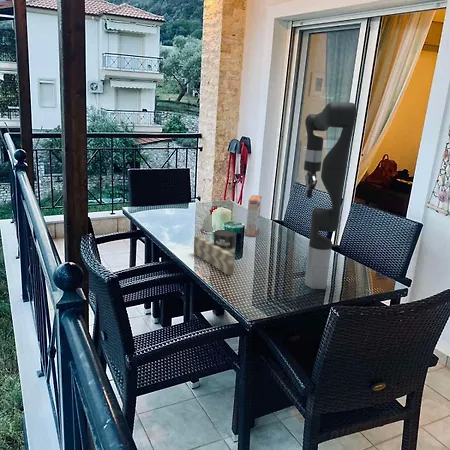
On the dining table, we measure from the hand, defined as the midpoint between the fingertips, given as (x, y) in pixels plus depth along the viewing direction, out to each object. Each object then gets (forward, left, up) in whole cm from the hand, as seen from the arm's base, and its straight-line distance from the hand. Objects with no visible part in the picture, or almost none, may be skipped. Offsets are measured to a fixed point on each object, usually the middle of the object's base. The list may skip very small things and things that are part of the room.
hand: (308, 197), depth 209 cm
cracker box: (+46, +18, -32) cm, 59 cm away
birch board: (-5, +43, -32) cm, 54 cm away
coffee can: (-2, +38, -32) cm, 50 cm away
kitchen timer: (+46, +40, -32) cm, 69 cm away
